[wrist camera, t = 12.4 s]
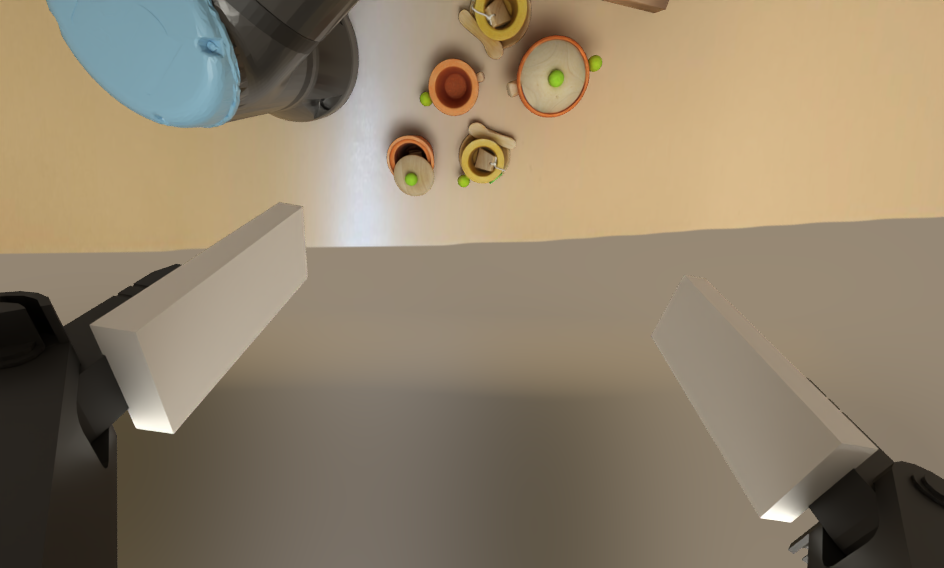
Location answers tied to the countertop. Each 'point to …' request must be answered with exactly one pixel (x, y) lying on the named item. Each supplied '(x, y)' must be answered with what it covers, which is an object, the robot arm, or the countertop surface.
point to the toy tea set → (538, 84)
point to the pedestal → (643, 4)
